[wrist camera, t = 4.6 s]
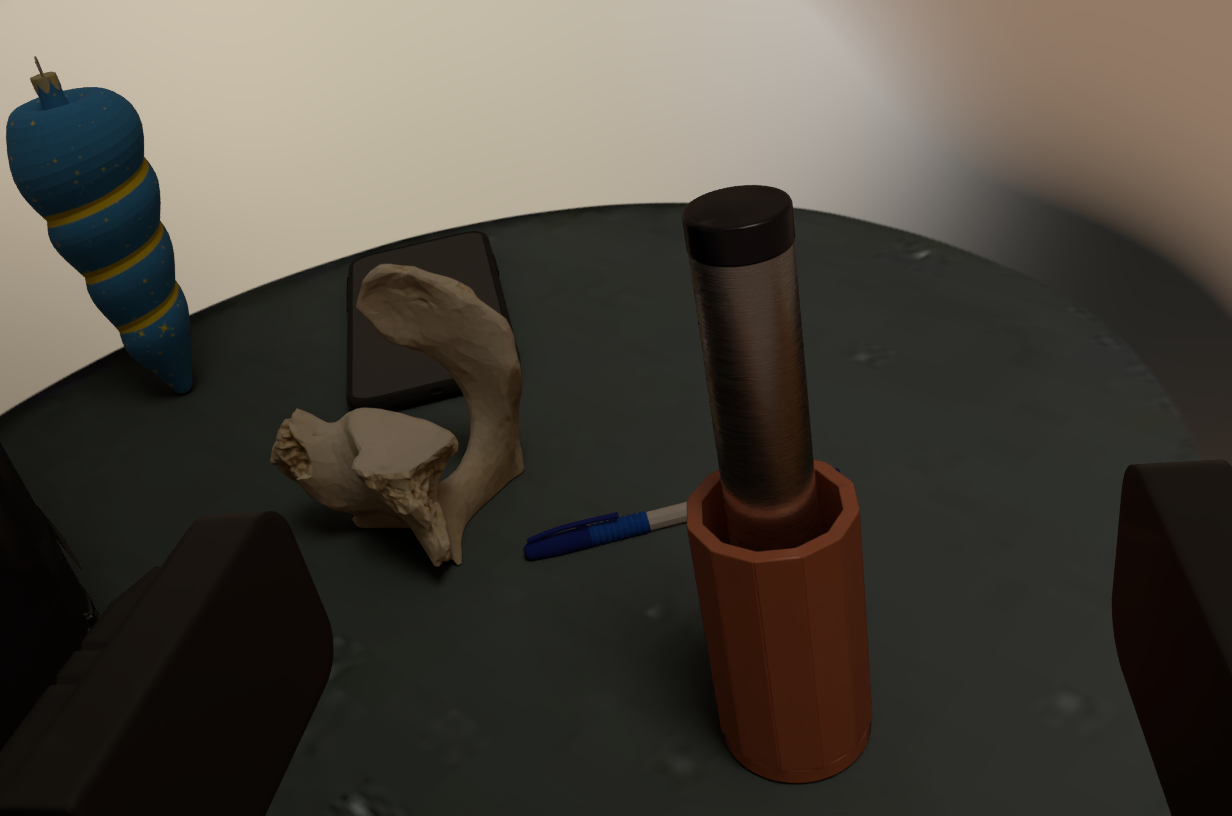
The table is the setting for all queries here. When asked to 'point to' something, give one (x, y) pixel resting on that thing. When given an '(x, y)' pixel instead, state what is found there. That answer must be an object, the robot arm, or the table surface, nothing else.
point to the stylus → (754, 362)
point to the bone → (418, 419)
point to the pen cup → (787, 636)
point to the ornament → (104, 215)
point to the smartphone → (397, 371)
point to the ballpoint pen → (601, 531)
